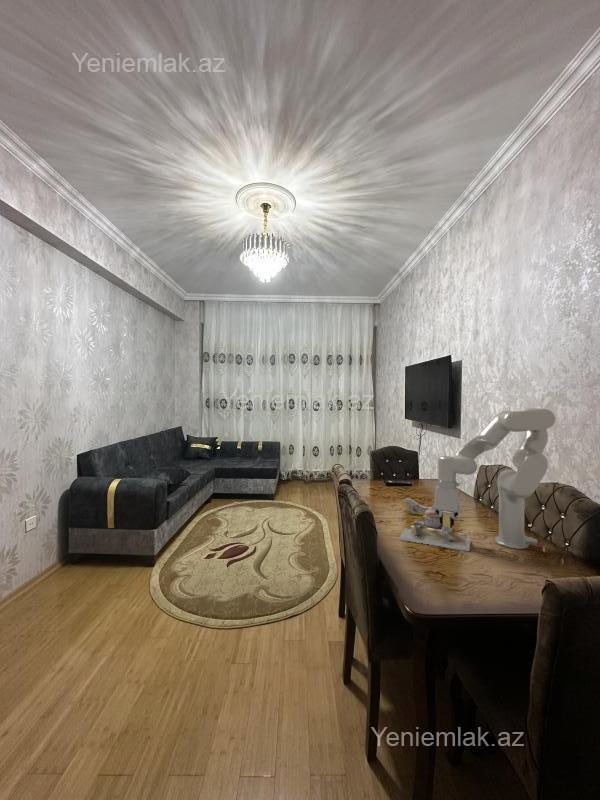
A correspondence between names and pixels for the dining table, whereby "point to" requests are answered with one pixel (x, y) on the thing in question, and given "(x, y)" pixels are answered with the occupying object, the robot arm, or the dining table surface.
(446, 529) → the block
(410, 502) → the wrench
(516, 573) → the dining table surface
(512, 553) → the dining table surface
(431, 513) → the cupcake
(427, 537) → the bolt plate
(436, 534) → the sliding bolt bar
